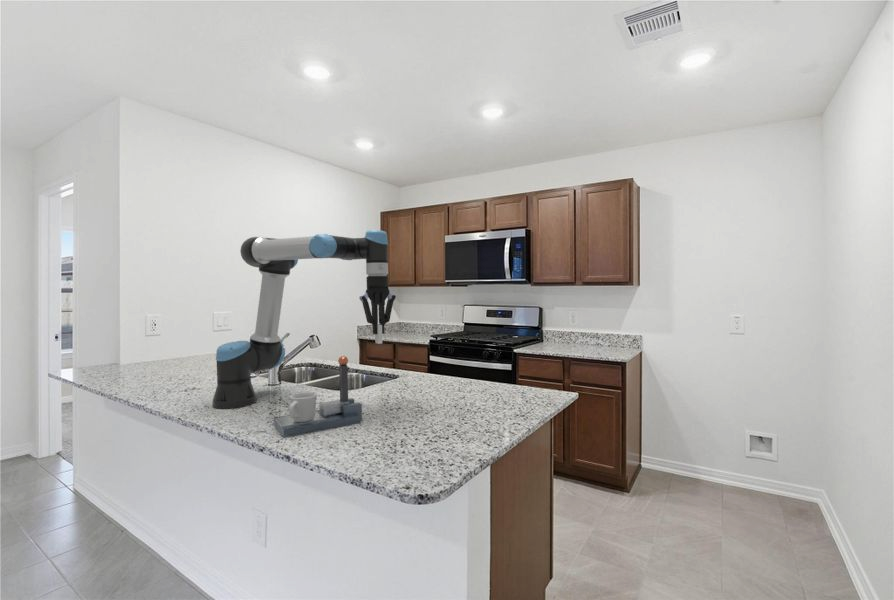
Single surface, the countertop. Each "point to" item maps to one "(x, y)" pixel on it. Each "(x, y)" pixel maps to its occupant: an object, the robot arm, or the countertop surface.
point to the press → (320, 421)
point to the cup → (302, 406)
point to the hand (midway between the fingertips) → (378, 343)
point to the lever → (336, 406)
